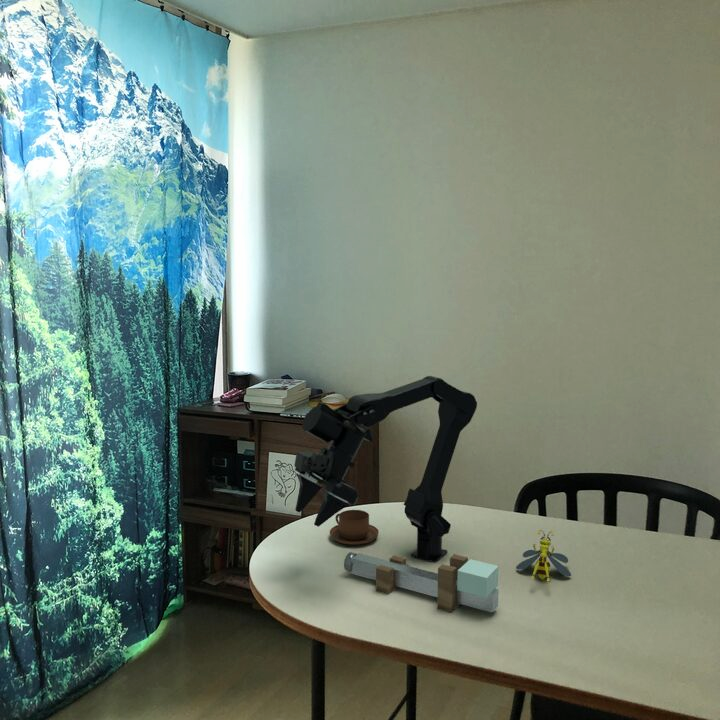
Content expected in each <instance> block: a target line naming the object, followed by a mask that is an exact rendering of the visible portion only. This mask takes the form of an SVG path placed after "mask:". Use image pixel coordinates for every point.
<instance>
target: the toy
mask: <svg viewBox="0 0 720 720" xmlns="http://www.w3.org/2000/svg"><path fill="white" fill-rule="evenodd" d="M541 532H543V536H542V537H541V538H540V540H539V544H540V545H539V548H540V549H539V550H537V548H536V543H533V544H532V547H533V549H528V550H526V551H525V550H524V552H523V553H522V557H523V558H527V559H525V560H523V561H521V562H520V563H518V564H517V565H516V566H515V569H516V570H527V569H528V568H529V567H530V566H532V565H533V564H534V563H535V566H534V569H533V573H532V576H531V577H530V579H531V580H534V578H535V575H536V574H537V575H538V577H539V579H540V580H541V581H543V580H544V579H546V582H547V583H549V582H550V576H549V575H550V571H551V564H552V565H553V567H554V568H555V569H556V570H557V571H558V572H559V573H560V574H561V575H562V576H565V577H571V576H572V573H571V572H570V570H569V569H568V568H567V567H566V566H564V564H568V562H569V559H568V557H567V556H566V555H565V554H562V553H559V552H554V550H555V547H554V546H551V544H552V542H551V541H552V540H551V538H550V537H549V535H550V533H551V536H552V537H554V534H555V533H554V531H552V530H551V531H549V532H548V534H547V537H546V534H545V533H544V531H543V529H540V530H539V531H538V532H537V534H538V535H540V534H541ZM550 546H551V551H549V549H550ZM547 559H549V560H547ZM535 561H536V562H535ZM549 561H550V562H549ZM560 562H561V563H560ZM550 563H551V564H550ZM562 563H564V564H562Z"/></svg>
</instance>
